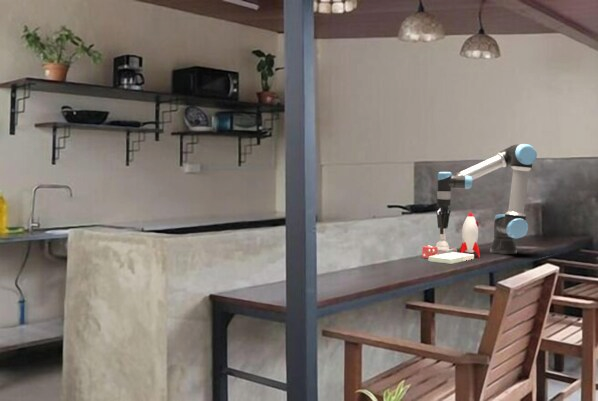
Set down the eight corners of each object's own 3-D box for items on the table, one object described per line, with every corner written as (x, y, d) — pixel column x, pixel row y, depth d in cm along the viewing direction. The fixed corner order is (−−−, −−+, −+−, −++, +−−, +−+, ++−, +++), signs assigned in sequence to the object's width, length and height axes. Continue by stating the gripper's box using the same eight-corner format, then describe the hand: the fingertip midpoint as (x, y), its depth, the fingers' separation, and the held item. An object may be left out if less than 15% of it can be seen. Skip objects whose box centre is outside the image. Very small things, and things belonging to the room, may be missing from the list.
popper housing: (438, 253, 375) (438, 246, 375) (456, 255, 367) (456, 248, 367) (427, 255, 366) (427, 248, 366) (446, 257, 358) (446, 250, 358)
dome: (439, 252, 372) (440, 239, 371) (450, 253, 367) (451, 240, 367) (433, 253, 366) (433, 240, 366) (444, 254, 362) (445, 241, 361)
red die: (427, 256, 361) (428, 244, 360) (438, 257, 356) (438, 246, 356) (421, 257, 356) (421, 245, 355) (432, 258, 351) (432, 247, 351)
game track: (452, 256, 363) (452, 252, 363) (474, 259, 354) (474, 254, 354) (428, 261, 343) (428, 256, 343) (450, 264, 334) (450, 259, 334)
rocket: (479, 258, 358) (481, 213, 356) (460, 257, 360) (461, 213, 358) (478, 255, 369) (479, 212, 367) (459, 254, 371) (460, 211, 369)
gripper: (443, 198, 372) (442, 238, 374) (432, 198, 363) (430, 240, 364) (455, 198, 367) (453, 239, 369) (444, 199, 358) (442, 241, 359)
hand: (442, 239), depth 366 cm, fingers closed
